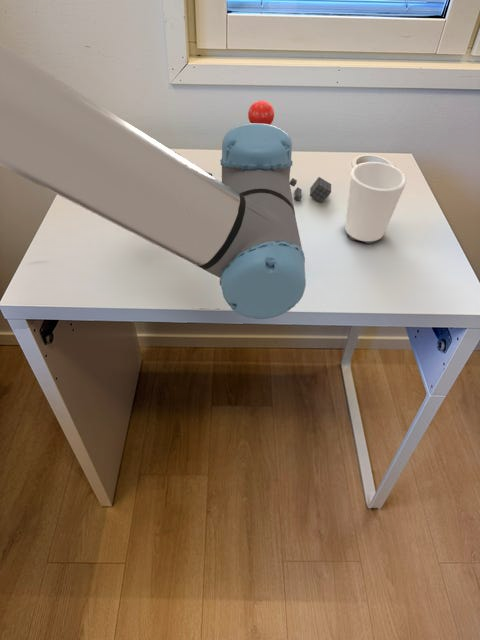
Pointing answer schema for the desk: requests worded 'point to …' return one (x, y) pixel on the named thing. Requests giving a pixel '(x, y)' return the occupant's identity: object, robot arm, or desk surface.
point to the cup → (372, 199)
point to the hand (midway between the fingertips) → (116, 153)
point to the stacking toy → (261, 113)
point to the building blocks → (314, 190)
